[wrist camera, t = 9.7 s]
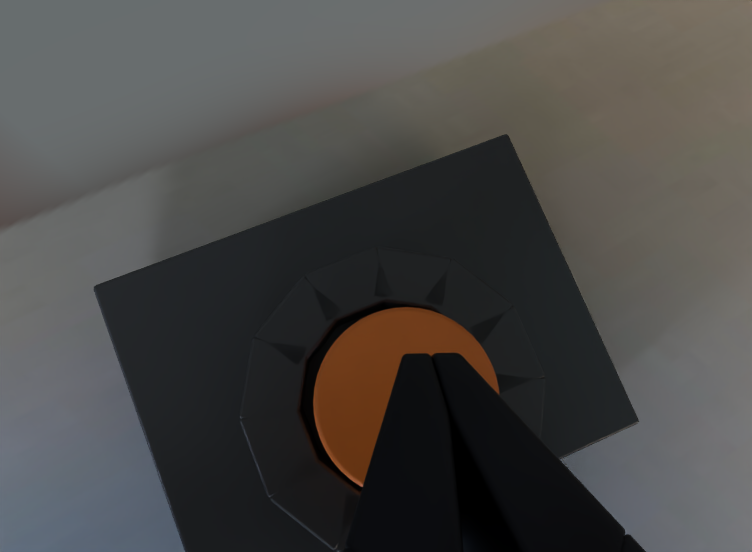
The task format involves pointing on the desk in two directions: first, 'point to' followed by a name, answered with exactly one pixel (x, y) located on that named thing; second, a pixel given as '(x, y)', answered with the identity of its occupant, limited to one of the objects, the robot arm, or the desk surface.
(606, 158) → the desk surface
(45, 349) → the desk surface
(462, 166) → the push button box
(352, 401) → the orange push button
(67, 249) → the desk surface
